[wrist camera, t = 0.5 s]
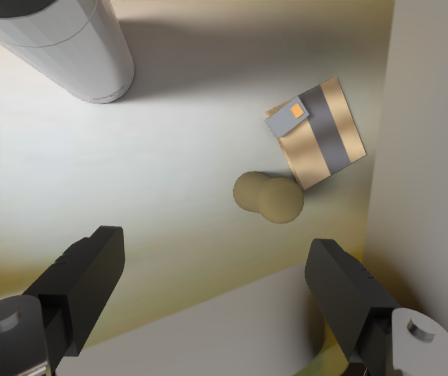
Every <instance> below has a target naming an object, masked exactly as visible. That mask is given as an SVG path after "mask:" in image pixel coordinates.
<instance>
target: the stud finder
mask: <svg viewBox="0 0 448 376" xmlns="http://www.w3.org/2000/svg"><path fill="white" fill-rule="evenodd" d="M308 115H309V113H308V112H307V110H306V109H305V107H304V105H303V104H302V102H301V100H300V99H299V97H298V96H297V97H295V98H294V99H292V100H290V101H289V102H288V103H286V104H285V105H284V106H283V107H281V108H280V109H279V110H277V111H276V112H275V113H273V114H272V115H271V116H270V117H268V118H267V119H266V120H264V121H265V122H266V124H267V125H268V127H269V128H270V130H271V131H272V133H273V134H274V136H275V137H276V138H278V137H281V136H283V135H284V134H286V133H287V132H288V131H289V130H291V129H292V128H293V127H294V126H296V125H297V124H298V123H299V122H301V121H302V120H303V119H304V118H306V117H307V116H308Z"/></svg>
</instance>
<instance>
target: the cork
mask: <svg viewBox="0 0 448 376" xmlns="http://www.w3.org/2000/svg"><path fill="white" fill-rule="evenodd" d="M233 195H234V199H235V201H236V203H237V204H238V205H239V207H241V208H242V209H244V210H247V211H252V212H257V213H261V215H262V216H263V217H264V218H265V219H267V220H268V221H270V222H272V223H276V224H285V223H289V222H291V221H293V220H294V219H295V218H296V217H298V216H299V214H300V212H301V211H302V208H303V205H304V196H303V192H302V190H301V188H300V187H299V185H298V184H297V183H295V182H294V181H292V180H291V179H288V178H285V177H275V178H270V177H268V176H266V175H264V174H262V173H259V172H255V171H254V172H247V173H245V174H243V175H242V176H240V177H239V178H238V180H237V181H236V183H235V185H234V189H233Z"/></svg>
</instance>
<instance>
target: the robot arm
mask: <svg viewBox="0 0 448 376" xmlns="http://www.w3.org/2000/svg"><path fill="white" fill-rule="evenodd" d="M0 45H2V46H3V47H5V48H6V49H8V50H9V51H10V52H12V53H13V54H15V55H16V56H18V57H19V58H21V59H22V60H23V61H25V62H26V63H28V64H29V65H31V66H32V67H33V68H35V69H36V70H38V71H39V72H41V73H42V74H44V75H45V76H46V77H48V78H49V79H51V80H52V81H54V82H55V83H56V84H58V85H59V86H61V87H62V88H63V89H65V90H66V91H68V92H69V93H71V94H72V95H74V96H75V97H77V98H79V99H81V100H83V101H86V102H90V103H98V104H101V103H109V102H112V101H115V100H117V99H118V98H120V97H122V96H123V95H124V94H125V93H126V92H127V91H128V89H129V87H130V86H131V84H132V81H133V78H134V62H133V59H132V56H131V53H130V50H129V48H128V45H127V43H126V40H125V37H124V35H123V32H122V30H121V27H120V25H119V22H118V20H117V17H116V15H115V12H114V10H113V7H112V5H111V2H110V0H0ZM124 264H125V252H124V236H123V229H122V227H118V226H100V227H99V228H98V229H97V230H96V231H95V232H94V233H93V234H92V235H91V237H90V238H89V237H84V238H83V239H81V240H79V241H77V242H76V243H74V244H72V245H71V246H70V247H69V248H68V249H67V250H66V251H65V252H64V253H63V254H62V256H60V257H59V258H58V259H57V260H56V261H55V262H54V264H52V265H51V266H50V267H49V268H48V269H47V270H46V271H45V272H44V273H43V274H42V275H41V276H40V277H39V278H38V279H37V280H36V281H35V282H34V283H33V284H32V285H31V286H30V287H29V288H28V289H27V290H26V291H25V292H24V293H23V294H22V295H17V296H12V297H9V298H5V299H2V300H0V376H57V373H56V368H57V366H58V365H59V363H60V361H61V359H62V358H63V356H73V357H78V356H79V353H80V352H81V350H82V348H83V346H84V344H85V342H86V341H87V339H88V337H89V335H90V333H91V331H92V329H93V327H94V326H95V324H96V322H97V320H98V318H99V316H100V314H101V312H102V311H103V309H104V307H105V305H106V303H107V301H108V299H109V297H110V296H111V294H112V292H113V290H114V288H115V286H116V284H117V282H118V281H119V279H120V277H121V275H122V272H123V269H124ZM305 278H306V282H307V284H308V286H309V288H310V290H311V292H312V294H313V296H314V298H315V300H316V302H317V304H318V305H319V307H320V309H321V311H322V313H323V315H324V317H325V319H326V321H327V323H328V324H329V326H330V328H331V330H332V332H333V334H334V336H335V338H336V340H337V342H338V344H339V345H340V347H341V349H342V351H343V353H344V355H345V357H346V359H347V361H348V362H363V363H364V364H365V366H366V368H367V369H366V371H365V374H364V376H448V333H447V332H446V331H445V330H444V329H443V328H442V327H441V326H440V325H439V324H437V323H436V322H435V321H433V320H432V319H430V318H429V317H427V316H425V315H423V314H421V313H419V312H416V311H414V310H411V309H406V308H402V307H401V306H400V305H399V304H398V303H397V301H396V300H395V299H394V298H393V297H392V296H391V295H390V294H389V293H388V292H387V291H386V290H385V289H384V287H383V286H382V285H381V284H380V283H379V282H378V281H377V280H376V279H374V277H373V276H372V275H371V273H370V272H369V271H367V269H366V268H365V267H364V266H363V265H362V264H361V263H360V262H359V261H358V260H357V259H356V258H354V257H353V256H351V255H350V254H348V253H347V252H345V251H344V250H343V249H342V248H341V247H340V246H339V245H338V244H337V243H336V241H335V240H333V239H317V238H316V239H314V240H313V241H312V244H311V247H310V251H309V255H308V259H307V263H306V266H305Z"/></svg>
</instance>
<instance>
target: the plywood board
mask: <svg viewBox="0 0 448 376" xmlns="http://www.w3.org/2000/svg"><path fill="white" fill-rule="evenodd" d="M298 97H299V99H300V100H301V102H302V104H303V105H304V107H305V109H306V110H307V112H308V113H309V115H308V116H307V117H306V118H304V119H303V120H302V121H301V122H299V123H298V124H297V125H296V126H294V127H293V128H292V129H291V130H289V131H288V132H287V133H286V134H284V135H283V136H281V137H278V138H277V139H278V141H279V144H280V146H281V148H282V150H283V153H284V155H285V157H286V159H287V162H288V164H289V166H290V168H291V170H292V173H293V175H294V177H295V179H296V182H297V184H298V185H299V187H300V188H301V190H306V189H308V188H309V187H311V186H313V185H315V184H316V183H318V182H320V181H321V180H323V179H325V178H327V177H328V176H330V175H332V174H333V173H335V172H337V171H339V170H340V169H342V168H344V167H345V166H347V165H349V164H351V163H352V162H354V161H356V160H358V159H359V158H361V157H363V156H364V155H366V153H365V151H364V148H363V145H362V143H361V140H360V137H359V135H358V132H357V129H356V127H355V124H354V121H353V119H352V116H351V114H350V111H349V108H348V106H347V103H346V100H345V98H344V95H343V92H342V90H341V87H340V84H339V82H338V79H337V76H336V77H334V78H332V79H330V80H328V81H326V82H324V83H322V84H320V85H318V86H316V87H314V88H312V89H310V90H308V91H306V92H304V93H302V94H300V95H298ZM293 99H294V98H293ZM291 100H292V99H291ZM289 101H290V100H289ZM289 101H287V102H285V103H283V104H281V105H279V106H277V107H275V108H273V109H271V110H269V111H267V112H266V115H267V117H270V116H271V115H272V114H273V113H275V112H276V111H277V110H279V109H280V108H281V107H283V106H284V105H285V104H286V103H288V102H289Z"/></svg>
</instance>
